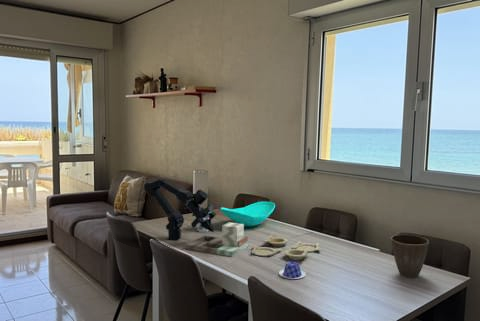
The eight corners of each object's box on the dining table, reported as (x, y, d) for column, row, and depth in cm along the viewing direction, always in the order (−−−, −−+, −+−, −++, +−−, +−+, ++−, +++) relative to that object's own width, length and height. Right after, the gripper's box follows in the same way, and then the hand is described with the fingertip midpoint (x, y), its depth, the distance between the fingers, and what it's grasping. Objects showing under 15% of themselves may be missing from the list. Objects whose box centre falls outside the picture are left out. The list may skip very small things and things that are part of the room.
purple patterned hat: (286, 268, 175) (286, 257, 175) (310, 273, 169) (310, 261, 168) (273, 276, 165) (273, 265, 165) (299, 282, 159) (299, 270, 158)
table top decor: (259, 217, 274) (259, 199, 273) (284, 225, 251) (285, 205, 250) (212, 225, 252) (211, 205, 250) (235, 235, 229) (235, 213, 228)
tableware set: (325, 247, 206) (325, 240, 205) (312, 265, 179) (312, 257, 179) (265, 239, 220) (265, 233, 220) (244, 255, 194) (244, 247, 193)
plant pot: (409, 284, 156) (410, 246, 154) (382, 271, 169) (383, 236, 168) (435, 278, 162) (436, 241, 160) (407, 266, 175) (408, 233, 174)
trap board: (186, 248, 203) (185, 238, 203) (204, 239, 220) (204, 230, 220) (232, 256, 191) (232, 245, 190) (248, 245, 208) (248, 236, 207)
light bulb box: (207, 232, 235) (207, 215, 234) (197, 231, 237) (196, 214, 236) (212, 227, 246) (212, 211, 245) (202, 227, 247) (202, 211, 246)
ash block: (222, 243, 203) (222, 225, 202) (229, 239, 210) (229, 222, 210) (237, 246, 199) (237, 227, 198) (243, 241, 207) (243, 224, 206)
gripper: (195, 203, 202) (213, 226, 198) (213, 197, 219) (230, 218, 215) (183, 216, 207) (200, 239, 203) (201, 209, 223) (218, 230, 219)
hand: (213, 231), depth 210 cm, fingers closed
